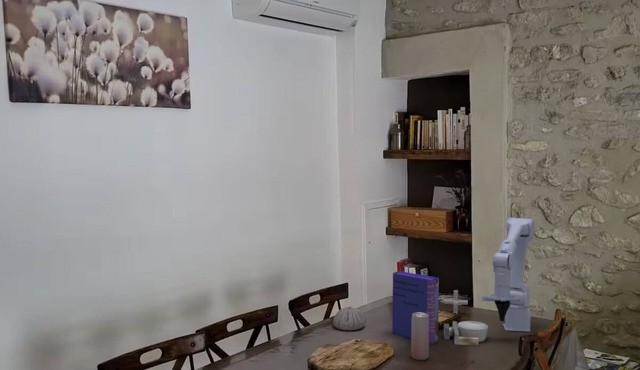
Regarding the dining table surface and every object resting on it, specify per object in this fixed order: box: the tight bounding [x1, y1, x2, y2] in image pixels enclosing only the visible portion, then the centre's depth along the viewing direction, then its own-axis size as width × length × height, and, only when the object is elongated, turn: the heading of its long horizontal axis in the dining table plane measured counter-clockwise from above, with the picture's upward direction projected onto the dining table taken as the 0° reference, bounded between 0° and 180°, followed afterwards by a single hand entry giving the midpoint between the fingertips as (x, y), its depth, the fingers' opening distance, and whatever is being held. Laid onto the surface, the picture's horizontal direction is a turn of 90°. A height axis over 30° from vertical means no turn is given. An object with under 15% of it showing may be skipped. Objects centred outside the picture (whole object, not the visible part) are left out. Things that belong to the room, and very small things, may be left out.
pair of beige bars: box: [457, 324, 480, 347], centre depth 232 cm, size 7×16×2 cm, turn 171°
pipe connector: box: [443, 289, 468, 315], centre depth 265 cm, size 10×10×10 cm
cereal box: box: [391, 270, 440, 345], centre depth 232 cm, size 17×5×24 cm, turn 47°
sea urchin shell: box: [332, 306, 367, 331], centre depth 246 cm, size 13×14×8 cm
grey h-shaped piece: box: [443, 320, 460, 346], centre depth 232 cm, size 5×16×4 cm, turn 171°
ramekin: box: [457, 320, 489, 343], centre depth 231 cm, size 11×11×5 cm
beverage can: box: [410, 312, 430, 361], centre depth 210 cm, size 6×6×15 cm
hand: (501, 320), depth 229 cm, fingers closed
